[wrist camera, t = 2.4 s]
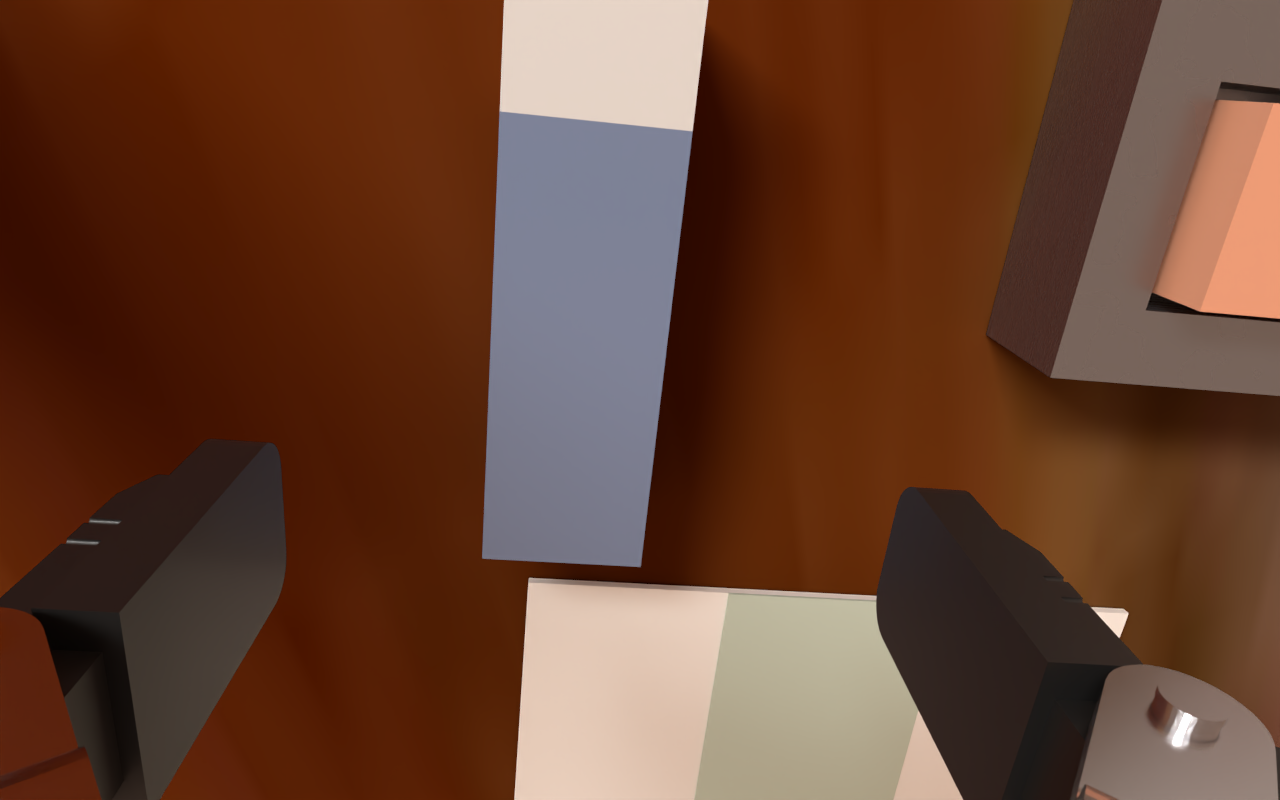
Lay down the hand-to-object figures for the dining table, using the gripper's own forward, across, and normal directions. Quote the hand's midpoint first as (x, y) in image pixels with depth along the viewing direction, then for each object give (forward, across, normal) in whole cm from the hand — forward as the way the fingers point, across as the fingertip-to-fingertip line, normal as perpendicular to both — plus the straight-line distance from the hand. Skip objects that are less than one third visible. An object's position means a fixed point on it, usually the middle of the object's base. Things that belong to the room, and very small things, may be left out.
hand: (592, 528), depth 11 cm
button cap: (+13, -18, -4) cm, 22 cm away
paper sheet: (+16, -10, +20) cm, 27 cm away
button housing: (+16, -18, -4) cm, 24 cm away
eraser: (+16, 0, 0) cm, 16 cm away
